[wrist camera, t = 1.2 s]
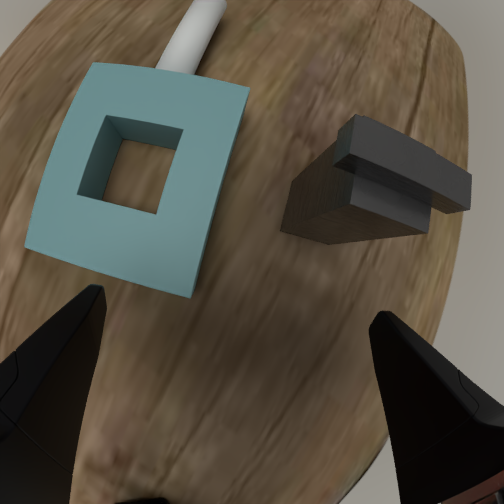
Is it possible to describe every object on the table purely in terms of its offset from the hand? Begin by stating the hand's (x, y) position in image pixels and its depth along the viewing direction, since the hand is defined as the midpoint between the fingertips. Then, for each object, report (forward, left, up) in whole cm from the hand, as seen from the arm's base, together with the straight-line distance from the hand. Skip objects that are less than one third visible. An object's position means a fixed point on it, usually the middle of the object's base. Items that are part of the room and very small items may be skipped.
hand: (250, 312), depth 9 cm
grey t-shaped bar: (+2, -8, -13) cm, 16 cm away
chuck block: (+13, 0, -13) cm, 19 cm away
